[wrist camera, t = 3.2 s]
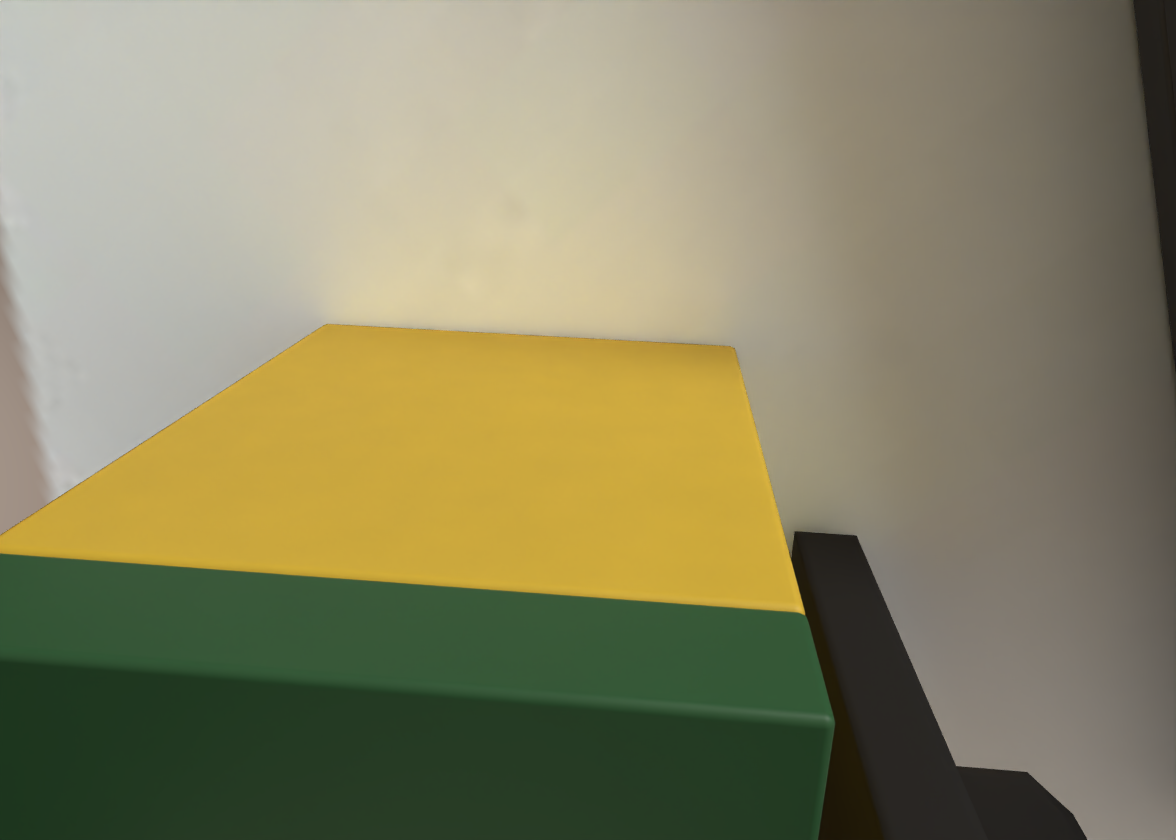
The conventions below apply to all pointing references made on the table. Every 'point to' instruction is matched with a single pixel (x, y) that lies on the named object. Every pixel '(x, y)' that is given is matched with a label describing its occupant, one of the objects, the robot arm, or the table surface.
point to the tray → (1161, 124)
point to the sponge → (420, 609)
